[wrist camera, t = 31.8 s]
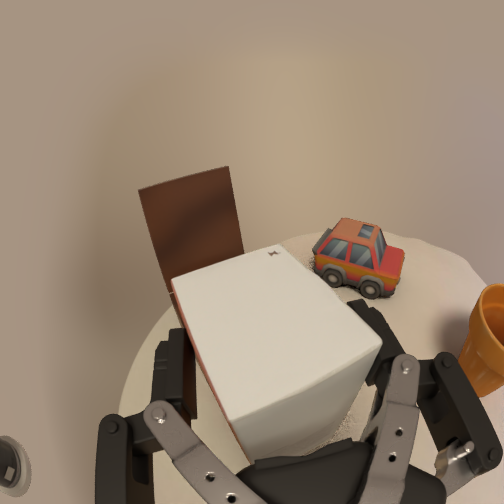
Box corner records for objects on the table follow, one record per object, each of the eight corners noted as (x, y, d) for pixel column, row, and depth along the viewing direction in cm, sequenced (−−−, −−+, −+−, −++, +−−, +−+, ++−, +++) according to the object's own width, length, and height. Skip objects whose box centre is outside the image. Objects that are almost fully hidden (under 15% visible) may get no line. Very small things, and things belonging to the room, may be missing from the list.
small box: (214, 396, 20) (167, 275, 13) (282, 368, 22) (280, 239, 15) (256, 478, 14) (226, 424, 7) (333, 439, 16) (389, 337, 9)
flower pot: (436, 409, 25) (487, 355, 18) (441, 335, 35) (472, 274, 28) (505, 415, 19) (557, 364, 12) (500, 346, 29) (536, 291, 22)
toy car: (391, 306, 42) (406, 260, 37) (307, 280, 51) (309, 234, 45) (400, 270, 50) (411, 228, 45) (328, 249, 58) (331, 208, 53)
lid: (228, 166, 36) (226, 165, 37) (138, 190, 31) (137, 189, 32) (246, 264, 42) (244, 262, 43) (169, 293, 38) (168, 290, 38)
